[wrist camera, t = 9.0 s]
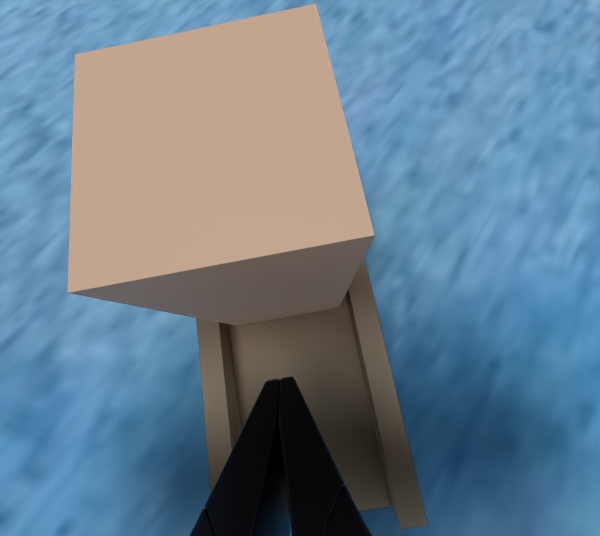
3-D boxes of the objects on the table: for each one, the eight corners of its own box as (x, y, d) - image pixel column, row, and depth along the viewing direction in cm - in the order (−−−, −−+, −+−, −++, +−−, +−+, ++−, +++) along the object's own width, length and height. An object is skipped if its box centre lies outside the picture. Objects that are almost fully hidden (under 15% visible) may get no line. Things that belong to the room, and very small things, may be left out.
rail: (409, 492, 13) (428, 525, 11) (234, 521, 13) (215, 558, 11) (333, 164, 17) (335, 137, 15) (202, 190, 18) (184, 167, 15)
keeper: (339, 307, 14) (374, 234, 5) (238, 325, 14) (68, 292, 5) (319, 214, 16) (315, 3, 6) (227, 231, 16) (75, 54, 6)
